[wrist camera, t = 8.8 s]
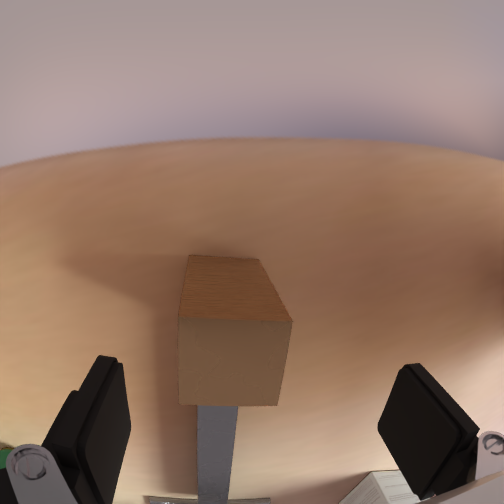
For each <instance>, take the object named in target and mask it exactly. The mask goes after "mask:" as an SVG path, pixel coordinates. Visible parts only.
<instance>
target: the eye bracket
mask: <svg viewBox="0 0 504 504" xmlns="http://www.w3.org/2000/svg"><path fill="white" fill-rule="evenodd" d="M270 503H271V502H270V498H264V499H247V500H228V501H227V504H270ZM150 504H198V500H191V499H174V498H161V497H151V496H150Z"/></svg>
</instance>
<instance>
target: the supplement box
mask: <svg viewBox="0 0 504 504" xmlns="http://www.w3.org/2000/svg"><path fill="white" fill-rule="evenodd" d="M428 499H430V498H428ZM425 500H427V499H425ZM422 501H424V500H422ZM418 502H421V501H420V499H419V498H418V496H417V495H415V494H413V492H412V491H411V489H410V487H409V485H408V483H407V482H406V480H405V478H404V476H403V474H402V473H401V471H400V470H397V471H378V472H371V473H370V474H368V475H367V476H366V477H365V478H364V479H363V480H362V481H361V482H360V483H359V484H358V485H357V486H356V487H355V488H354V489H353V490H352V491H351V492H350V493H349V494H348V495H347V496H346V497H345V498H344V499H343V500H342V501H340V502H339V504H415V503H418Z"/></svg>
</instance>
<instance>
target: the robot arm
mask: <svg viewBox="0 0 504 504" xmlns="http://www.w3.org/2000/svg"><path fill="white" fill-rule="evenodd" d="M479 430H480V428H479V427H478V426H477V425H476V424H475V423H474V422H473V420H472V419H471V418H470V417H469V416H468V415H467V414H466V413H465V411H464V410H463V409H462V408H461V407H460V406H459V405H458V404H457V403H456V401H455V400H454V399H453V398H452V397H451V396H450V395H449V394H448V393H447V392H446V391H445V389H444V388H443V387H442V386H441V385H440V384H439V383H438V382H437V381H436V380H435V379H434V378H433V376H432V375H431V374H430V373H429V372H428V371H427V370H426V369H425V368H424V367H423V366H422V365H421V364H420V363H415V364H406V365H404V366H403V368H402V369H400V370H399V372H398V375H397V377H396V380H395V383H394V385H393V388H392V390H391V393H390V396H389V398H388V401H387V403H386V405H385V408H384V410H383V413H382V415H381V417H380V420H379V422H378V432H379V434H380V435H381V437H382V439H383V441H384V442H385V444H386V446H387V448H388V450H389V451H390V453H391V455H392V457H393V458H394V460H395V462H396V464H397V465H398V467H399V469H400V471H401V473H402V474H403V476H404V478H405V480H406V482H407V483H408V485H409V487H410V489H411V491H412V492H413V494H415V495H417V496H418V498H419V499H420V501H421V502H418V503H415V504H504V435H502V434H501V433H498V432H494V431H488V432H484V433H482V434H481V436H480V437H479V438H478V437H477V436H476V435H477V433H478V431H479ZM130 432H131V420H130V414H129V408H128V401H127V394H126V387H125V379H124V370H123V364H122V363H119V362H118V361H117V358H115V357H108V356H102V355H99V356H98V357H97V359H96V360H95V362H94V364H93V366H92V367H91V369H90V371H89V373H88V374H87V376H86V378H85V380H84V382H83V383H82V385H81V387H80V389H79V391H76V390H73V391H71V393H70V394H69V396H68V397H67V399H66V401H65V403H64V404H63V406H62V408H61V410H60V412H59V413H58V415H57V417H56V419H55V421H54V423H53V424H52V426H51V428H50V430H49V432H48V434H47V436H46V438H45V440H44V441H43V443H42V445H41V446H39V445H34V444H25V445H21V446H18V447H16V448H15V449H13V450H12V451H11V452H10V453H9V455H8V456H7V460H6V467H5V468H2V469H0V504H112V502H113V498H114V494H115V489H116V485H117V481H118V477H119V473H120V469H121V465H122V462H123V458H124V454H125V450H126V447H127V443H128V439H129V436H130ZM434 494H436V496H435V497H433V496H434ZM431 497H433V498H431ZM428 498H430V499H428ZM425 499H427V500H425ZM422 500H424V501H422Z"/></svg>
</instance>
